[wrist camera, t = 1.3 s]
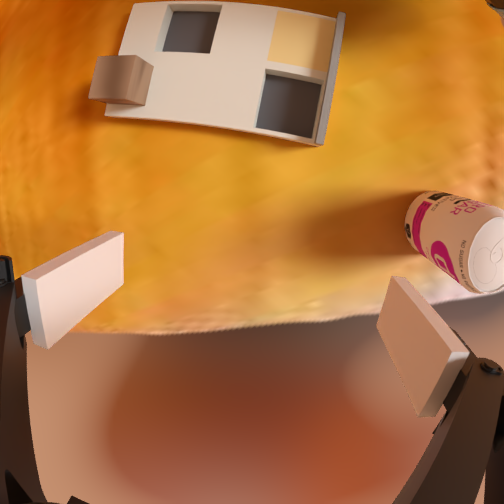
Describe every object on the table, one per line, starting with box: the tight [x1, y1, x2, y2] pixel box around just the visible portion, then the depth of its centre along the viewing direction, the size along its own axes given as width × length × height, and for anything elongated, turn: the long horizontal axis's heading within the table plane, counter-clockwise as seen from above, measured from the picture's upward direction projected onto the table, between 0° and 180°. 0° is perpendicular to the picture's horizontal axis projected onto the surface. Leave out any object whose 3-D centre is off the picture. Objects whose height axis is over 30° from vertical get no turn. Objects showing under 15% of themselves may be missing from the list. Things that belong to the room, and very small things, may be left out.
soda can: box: [405, 191, 504, 294], centre depth 28 cm, size 8×8×15 cm
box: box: [105, 1, 346, 147], centre depth 31 cm, size 26×16×4 cm, turn 79°
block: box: [88, 55, 154, 106], centre depth 29 cm, size 5×5×5 cm
